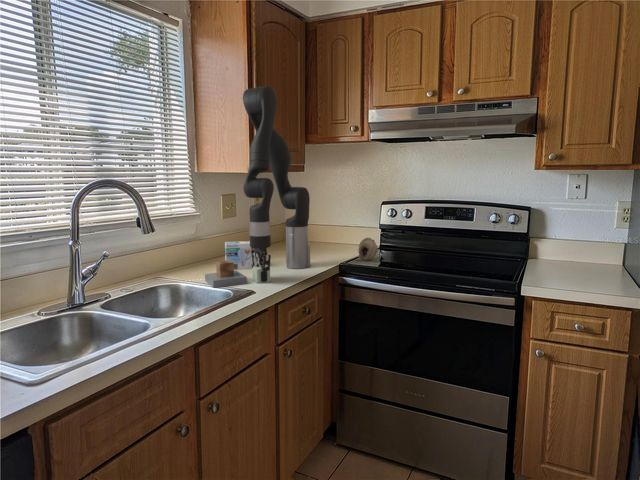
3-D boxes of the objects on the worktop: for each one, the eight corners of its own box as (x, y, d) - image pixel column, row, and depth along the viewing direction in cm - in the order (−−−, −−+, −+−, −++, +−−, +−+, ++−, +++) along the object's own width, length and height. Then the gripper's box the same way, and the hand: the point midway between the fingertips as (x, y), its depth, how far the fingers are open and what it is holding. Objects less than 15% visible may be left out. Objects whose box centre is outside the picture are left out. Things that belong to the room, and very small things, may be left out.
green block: (265, 278, 168) (265, 265, 168) (270, 281, 164) (270, 268, 163) (252, 280, 166) (252, 267, 165) (257, 283, 162) (257, 269, 161)
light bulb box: (226, 270, 184) (225, 244, 183) (225, 267, 191) (224, 241, 189) (252, 268, 187) (251, 242, 185) (250, 265, 193) (249, 240, 192)
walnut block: (229, 273, 167) (229, 260, 166) (234, 275, 163) (233, 262, 162) (216, 274, 165) (216, 261, 164) (220, 277, 160) (219, 263, 160)
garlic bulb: (357, 257, 208) (357, 236, 207) (376, 257, 208) (376, 236, 206) (358, 261, 199) (358, 239, 197) (378, 261, 198) (378, 239, 197)
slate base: (236, 276, 172) (236, 270, 172) (246, 283, 162) (246, 276, 161) (205, 280, 167) (204, 274, 166) (213, 287, 156) (213, 280, 156)
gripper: (277, 235, 158) (278, 282, 161) (262, 231, 171) (264, 275, 173) (257, 237, 155) (258, 285, 157) (243, 232, 167) (245, 277, 170)
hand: (261, 279), depth 165 cm, fingers closed on green block, 5 cm apart
